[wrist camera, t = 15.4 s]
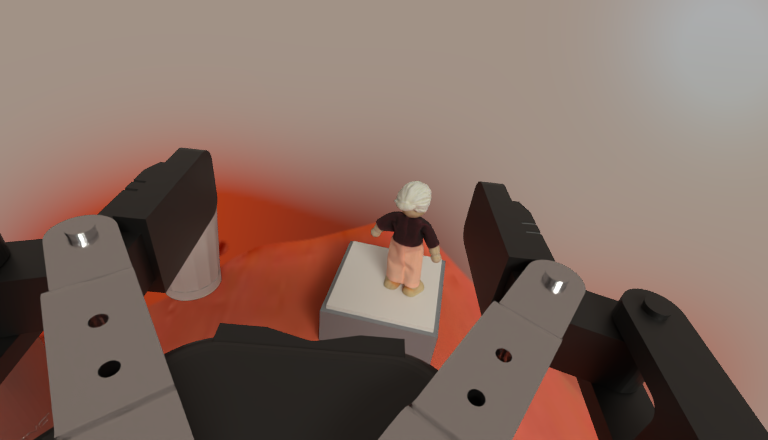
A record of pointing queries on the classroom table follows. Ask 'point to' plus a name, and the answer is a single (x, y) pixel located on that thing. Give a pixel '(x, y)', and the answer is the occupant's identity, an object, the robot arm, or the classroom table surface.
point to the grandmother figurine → (408, 239)
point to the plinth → (382, 302)
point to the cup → (199, 268)
